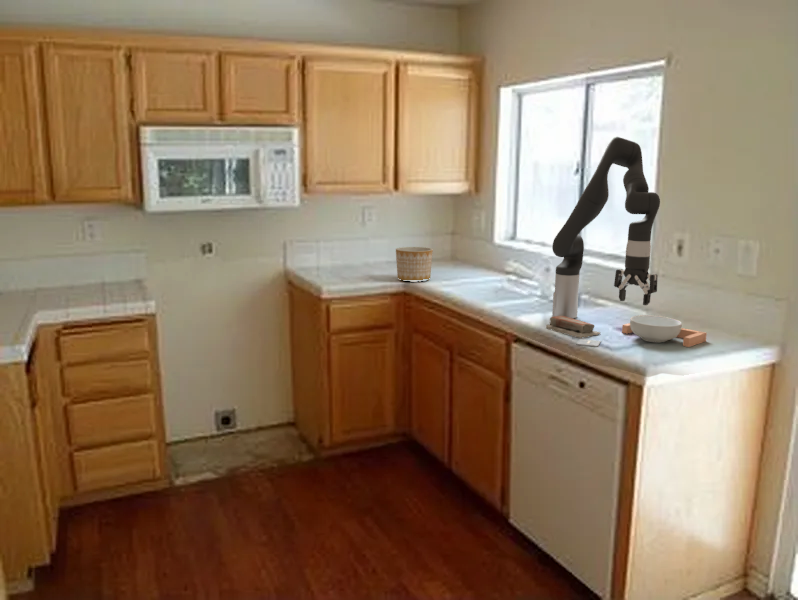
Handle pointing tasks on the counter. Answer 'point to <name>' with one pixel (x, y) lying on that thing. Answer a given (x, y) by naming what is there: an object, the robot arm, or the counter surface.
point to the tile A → (588, 342)
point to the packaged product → (571, 326)
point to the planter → (414, 263)
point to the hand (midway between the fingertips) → (633, 302)
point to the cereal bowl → (655, 327)
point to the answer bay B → (688, 335)
